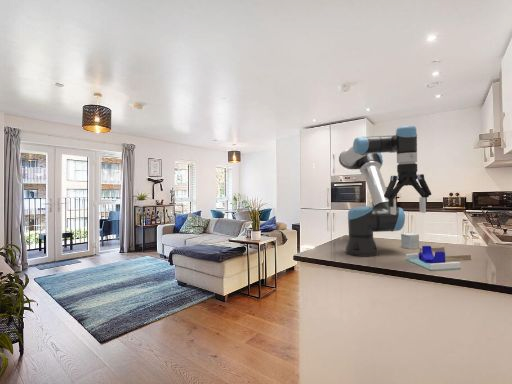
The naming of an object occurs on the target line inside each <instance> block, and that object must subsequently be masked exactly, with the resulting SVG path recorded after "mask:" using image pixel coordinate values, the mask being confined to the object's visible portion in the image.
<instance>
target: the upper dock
mask: <svg viewBox="0 0 512 384" xmlns="http://www.w3.org/2000/svg"><path fill="white" fill-rule="evenodd" d="M431 249H432V253H435V251H443V252H445V250H446V249H445V246H438V247H437V246H436V247H435V246H433V247H431ZM419 253H422V247H419ZM471 256H472V255H471V254H469V253H467V254H454V255H445V262H451V261H452V262H456V261H467V260H468V261H470V260H472V257H471Z"/></svg>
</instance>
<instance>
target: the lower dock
mask: <svg viewBox="0 0 512 384" xmlns="http://www.w3.org/2000/svg"><path fill="white" fill-rule="evenodd" d="M405 260H406V261H408V262H410V263H413V264H414V265H417V266H420V267H422V268H423V269H426V270H428V271H448V270H449V271H450V270H461V262H460V261H452V262H451V261H448V262H447V261H445V263H433V264H431V263H425V262H423V261H421V260H420V259H419V253H407V254H405Z"/></svg>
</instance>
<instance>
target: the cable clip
mask: <svg viewBox="0 0 512 384" xmlns="http://www.w3.org/2000/svg"><path fill="white" fill-rule="evenodd" d="M421 248H422V253H420V252H418V254H419V259H420V260H421V261H423V262H425V263H431V264H433V263H445V262H446V261H445V256H446V252H445V251H435V252H432V249H431V248H432V246H431V245H422V246H421Z"/></svg>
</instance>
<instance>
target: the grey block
mask: <svg viewBox="0 0 512 384" xmlns="http://www.w3.org/2000/svg"><path fill="white" fill-rule="evenodd" d="M400 235H401V236H400V237H401V239H400V241H401V242H400V243H401V248H404V249H409V250H414V249H420V235H419V234H417V233H412V232H406V233H401V234H400Z"/></svg>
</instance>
